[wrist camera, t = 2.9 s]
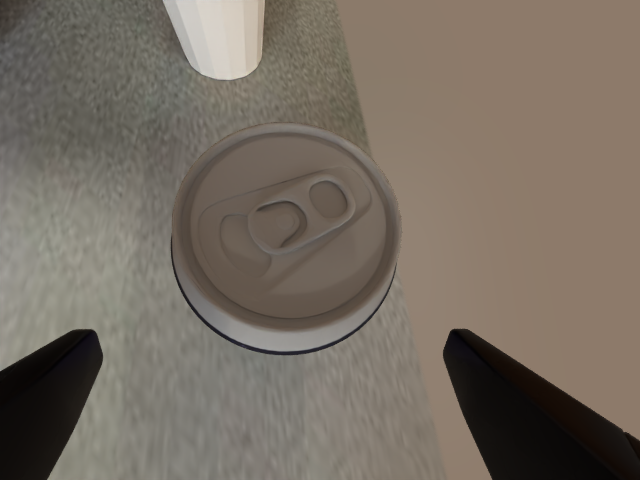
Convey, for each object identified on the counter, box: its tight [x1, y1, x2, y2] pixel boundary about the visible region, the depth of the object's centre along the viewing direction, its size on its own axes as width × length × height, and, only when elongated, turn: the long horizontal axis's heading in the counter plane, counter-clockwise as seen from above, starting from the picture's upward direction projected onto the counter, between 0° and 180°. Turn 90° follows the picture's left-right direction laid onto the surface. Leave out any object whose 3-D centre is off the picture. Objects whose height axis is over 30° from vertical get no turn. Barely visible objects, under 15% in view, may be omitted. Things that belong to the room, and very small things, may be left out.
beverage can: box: [171, 122, 402, 355], centre depth 12 cm, size 6×6×12 cm
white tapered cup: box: [163, 0, 265, 80], centre depth 20 cm, size 7×7×7 cm
